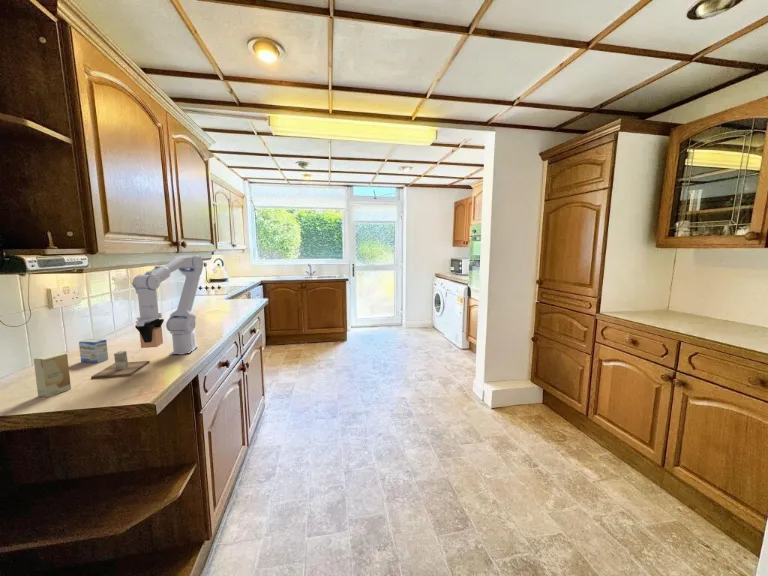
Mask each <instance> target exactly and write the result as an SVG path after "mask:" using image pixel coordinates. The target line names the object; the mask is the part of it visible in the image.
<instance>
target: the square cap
mask: <svg viewBox="0 0 768 576" xmlns="http://www.w3.org/2000/svg"><path fill="white" fill-rule="evenodd" d="M139 339H140V340H139V341H140V349H146V348H147V349H148V348H149V349H150V348H158V347H159V346H161V345H162V344H164V338H163V328H162V326H161V327H154V328H153V331H152V341H151V342H147V343H145V342H144V340H143V338H142V336H141V334H140V333H139Z"/></svg>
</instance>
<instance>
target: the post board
mask: <svg viewBox="0 0 768 576" xmlns="http://www.w3.org/2000/svg"><path fill="white" fill-rule="evenodd" d="M127 353H128V352H127V351H125V350H123V351H117V352H114V354H113V356H114V363H113V364H110V365H108V366H107V367H105V368H104V369H102V370H100V371H99V372H97V373H95V374H93V375H91V376H90V378H91V379H92V380H93V379H105V378H117V377H119V378H121V377H129V376H130V377H131V376H132V375H135V373H137V372H138V371H139V370H141V369H143V368H144V367H146V366H147V365H149V364H150V360H142V361H140V360H139V361H128V354H127Z"/></svg>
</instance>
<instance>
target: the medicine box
mask: <svg viewBox="0 0 768 576" xmlns="http://www.w3.org/2000/svg"><path fill="white" fill-rule="evenodd" d="M78 347H79V354H80V355H79V357H80V362H81V363H91V362H92V363H94V364H95V363H96V364H98V363H101V362H106V361H107V360H109V352H108V343H107V339H101V338H100V339H98V338H97V339H95V338H94V339H93V338H87V339H84V340H80V341H79V342H78ZM92 363H91V364H92Z"/></svg>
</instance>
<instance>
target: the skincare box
mask: <svg viewBox="0 0 768 576" xmlns="http://www.w3.org/2000/svg"><path fill="white" fill-rule="evenodd" d="M33 364H34V374H35V381H36V391H37V396H38V397H45V398H48V397H49V396H50V397H52V396H54V395H57V394H60V393H63V392H66V391H69V390H71V389H72V385H71V377H70V375H71V374H70V368H69V357H68V353H65V352H54V353H51V354H46V355H41V356H39V357H34V358H33ZM50 397H49V398H50Z"/></svg>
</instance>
